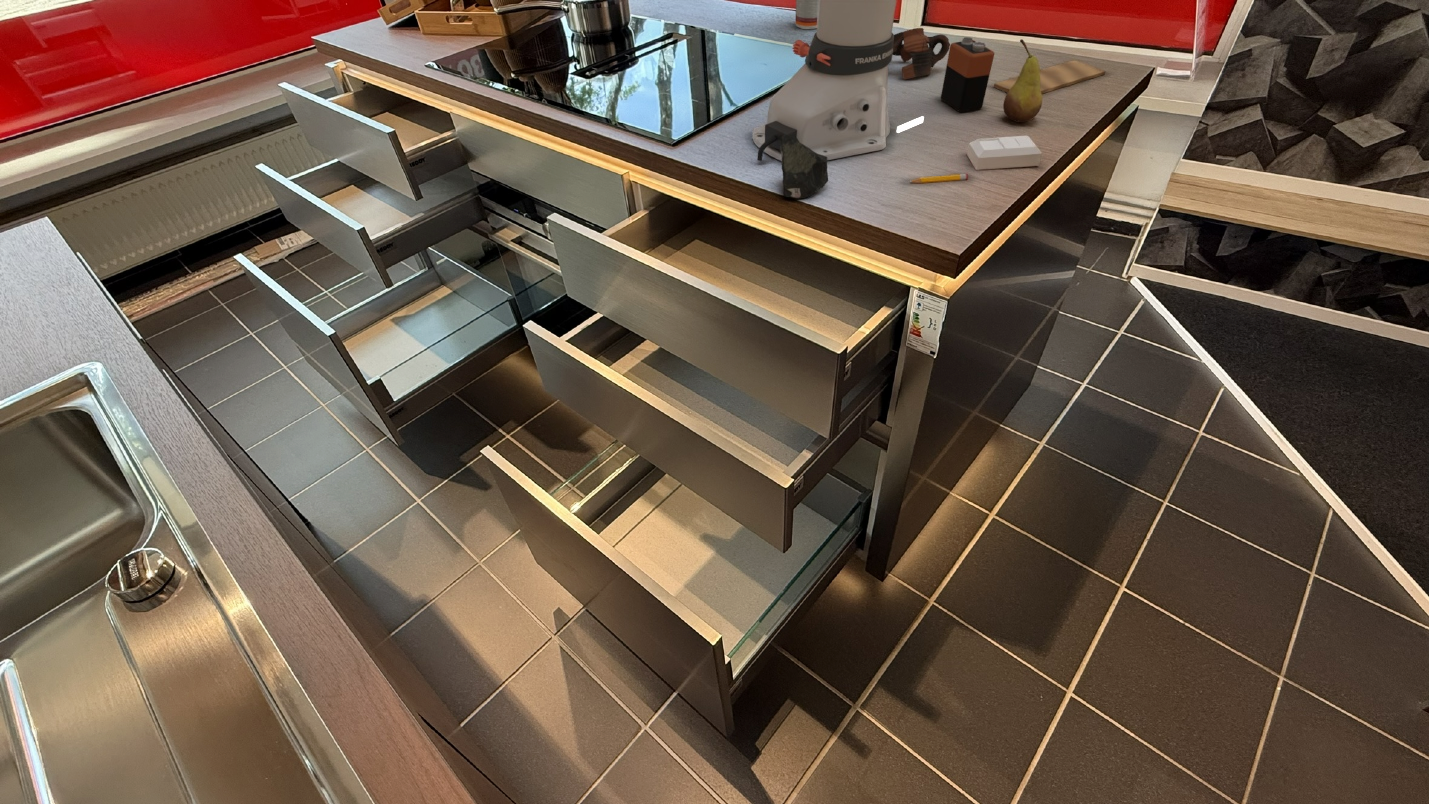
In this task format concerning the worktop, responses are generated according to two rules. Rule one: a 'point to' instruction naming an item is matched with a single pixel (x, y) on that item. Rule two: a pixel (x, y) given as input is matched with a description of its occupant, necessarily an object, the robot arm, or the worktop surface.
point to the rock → (801, 168)
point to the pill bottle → (806, 14)
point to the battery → (967, 75)
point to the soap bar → (1003, 152)
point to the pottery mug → (919, 51)
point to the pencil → (940, 178)
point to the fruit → (1025, 92)
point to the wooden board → (1058, 76)
